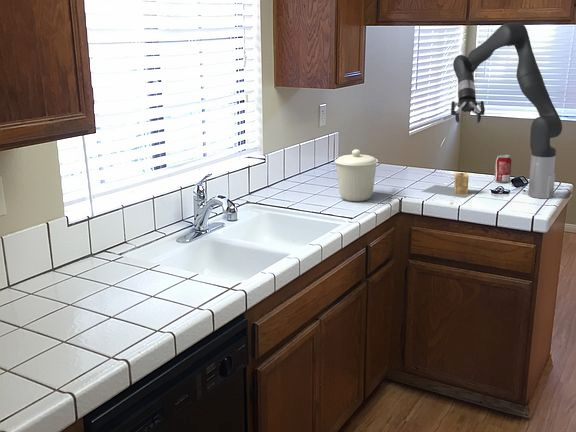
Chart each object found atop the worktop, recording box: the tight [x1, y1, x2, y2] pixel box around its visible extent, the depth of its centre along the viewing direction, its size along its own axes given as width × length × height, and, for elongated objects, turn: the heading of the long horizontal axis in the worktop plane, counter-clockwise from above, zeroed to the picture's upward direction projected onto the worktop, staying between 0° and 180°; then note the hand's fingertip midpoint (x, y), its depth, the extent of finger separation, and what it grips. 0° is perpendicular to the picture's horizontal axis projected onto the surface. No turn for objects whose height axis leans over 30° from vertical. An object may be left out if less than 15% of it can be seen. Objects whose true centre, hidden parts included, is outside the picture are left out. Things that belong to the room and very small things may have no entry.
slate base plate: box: [421, 184, 479, 199], centre depth 271 cm, size 20×14×2 cm
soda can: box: [494, 154, 512, 184], centre depth 289 cm, size 7×7×12 cm
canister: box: [333, 149, 379, 202], centre depth 267 cm, size 18×18×21 cm
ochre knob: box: [453, 172, 469, 194], centre depth 267 cm, size 5×5×8 cm
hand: (468, 121), depth 278 cm, fingers open, 8 cm apart
